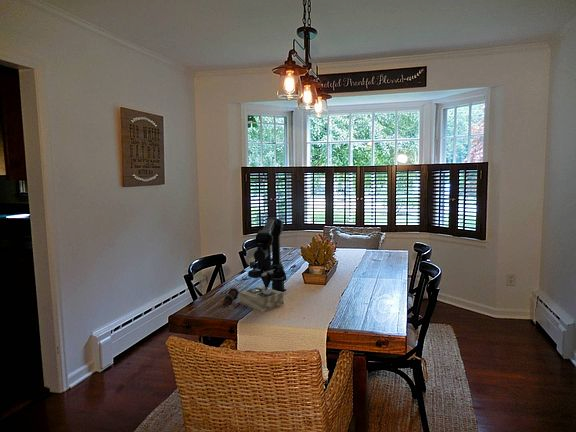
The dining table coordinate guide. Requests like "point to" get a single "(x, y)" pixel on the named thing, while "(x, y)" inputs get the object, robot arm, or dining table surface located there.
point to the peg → (266, 291)
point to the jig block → (261, 299)
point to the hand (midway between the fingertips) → (266, 287)
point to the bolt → (231, 296)
